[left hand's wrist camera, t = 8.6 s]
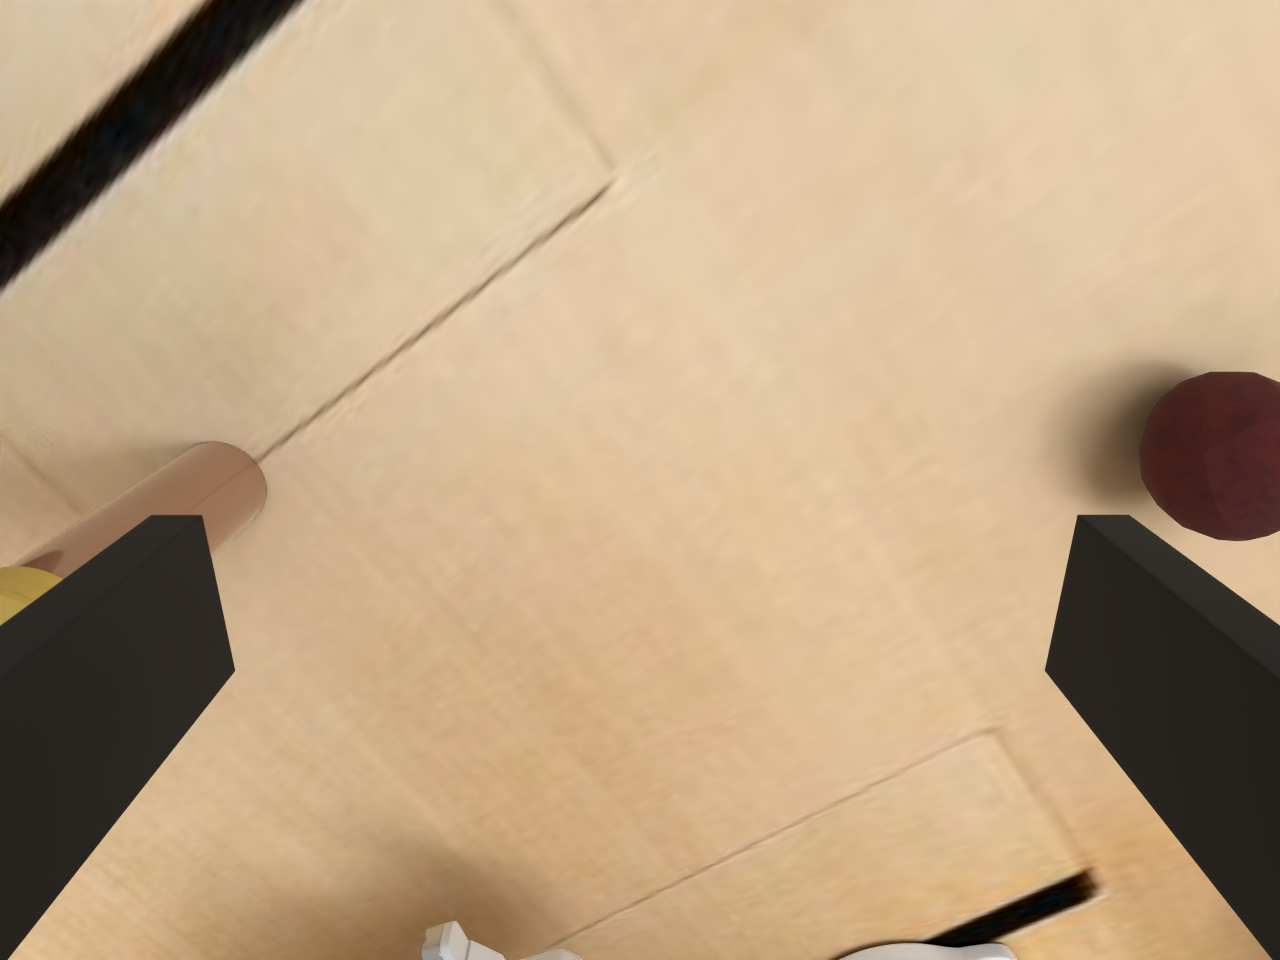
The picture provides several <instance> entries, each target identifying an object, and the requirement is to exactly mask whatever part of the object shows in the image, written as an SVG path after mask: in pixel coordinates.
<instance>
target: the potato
mask: <svg viewBox="0 0 1280 960" xmlns="http://www.w3.org/2000/svg"><path fill="white" fill-rule="evenodd" d="M1140 463H1141V477H1142V479H1143V481H1144V483H1145V486H1146V488H1147V489H1148V491H1149V492H1150V494H1151V495H1152V497H1153V499H1154V500H1155V502H1156V503H1157V505H1158V506H1159V507H1160V508H1162V509H1163V510H1164V511H1165V512H1166V513H1167V514H1168V515H1169V516H1170V517H1172V518H1173V519H1174V520H1175V521H1176V522H1178V523H1179V524H1180V525H1181V526H1182V527H1185V528H1188V529H1190V530H1193V531H1195V532H1198V533H1201V534H1204V535H1206V536H1209V537H1212V538H1215V539H1217V540H1229V541H1246V540H1252V539H1256V538H1261V537H1265V536H1269V535H1271V534H1273V533H1276V532H1278V531H1280V382H1277V381H1275V380H1272V379H1270V378H1267V377H1265V376H1262V375H1260V374H1257V373H1254V372H1208V373H1206V374H1203V375H1200V376H1197V377H1194V378H1191V379H1189V380H1186V381H1183V382H1181V383H1180V384H1178V385H1177V386H1176V387H1174V388H1173V389H1172V390H1171V391H1169V392H1168V393H1167V394H1166V395H1165V396H1163V397H1162V398H1161V400H1160V401H1159V403H1158V404H1157V406H1156V407H1155V409H1154V410H1153V412H1152V413H1151V415H1150V416H1149V419H1148V423H1147V426H1146V429H1145V433H1144V436H1143V440H1142V443H1141V447H1140Z"/></svg>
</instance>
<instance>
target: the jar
mask: <svg viewBox="0 0 1280 960" xmlns="http://www.w3.org/2000/svg"><path fill="white" fill-rule="evenodd" d="M266 495H267V487H266V482H265V478H264V476H263V473H262V471H261V470H260V468H259V466H258V465H257V464H256V462H255V461H254V460H253V459H252V458H251V457H250V456H248V455H247V454H246V453H245V452H243V451H242V450H240V449H238V448H236V447H234V446H231V445H229V444H225V443H219V442H207V443H201V444H198V445H196V446H193V447H192V448H190V449H188V450H187V451H185V452H184V453H182V454H181V455H179V456H178V457H176V458H175V459H173V460H171V461H170V462H168V463H167V464H165V465H164V466H162V467H161V468H159V469H158V470H156V471H154V472H153V473H151V474H150V475H148V476H147V477H145V478H144V479H142V480H141V481H139V482H138V483H136V484H134V485H133V486H131V487H130V488H128V489H127V490H125V491H124V492H122V493H121V494H119V495H117V496H116V497H114V498H113V499H111V500H110V501H108V502H107V503H105V504H104V505H102V506H101V507H99V508H97V509H96V510H94V511H93V512H91V513H90V514H88V515H87V516H85V517H84V518H82V519H80V520H79V521H77V522H76V523H74V524H73V525H71V526H70V527H68V528H67V529H65V530H64V531H62V532H60V533H59V534H57V535H56V536H54V537H53V538H51V539H50V540H48V541H47V542H45V543H43V544H42V545H40V546H39V547H37V548H36V549H34V550H33V551H31V552H30V553H28V554H27V555H25V556H23V557H22V558H20V559H19V560H17V561H16V562H14V563H13V564H11V565H10V566H8V567H12V566H16V567H29V568H35V569H39V570H43V571H46V572H49V573H52V574H54V575H56V576H58V577H60V578H62V579H64V578H66V577H67V576H69V575H70V574H71V573H73V572H74V571H75V570H77V569H78V568H79V567H81V566H82V565H84V564H85V563H86V562H88V561H89V560H90V559H92V558H93V557H94V556H96V555H97V554H99V553H100V552H101V551H103V550H104V549H105V548H107V547H108V546H109V545H111V544H112V543H114V542H115V541H116V540H118V539H119V538H120V537H122V536H123V535H124V534H126V533H127V532H129V531H130V530H131V529H133V528H134V527H135V526H137V525H138V524H139V523H141V522H142V521H144V520H145V519H146V518H148V517H149V516H150V515H202V516H203V520H204V525H205V530H206V535H207V539H208V544H209V549H210V554H211V558H212V557H213V556H214V555H215V554H216V553H217V552H218V551H219V550H220V549H221V548H222V547H223V546H225V545H226V544H227V543H228V542H229V541H230V540H231V539H232V538H233V537H234V536H235V535H236V534H237V533H238V532H240V531H241V530H242V529H243V528H244V527H245V526H246V525H247V524H248V523H249V522H250V521H251V520H252V519H253V518H254V517H256V516H257V514H258V513H259V512H260V511H261V509H262V508H263V506H264V504H265V500H266Z"/></svg>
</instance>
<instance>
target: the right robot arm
mask: <svg viewBox="0 0 1280 960" xmlns="http://www.w3.org/2000/svg"><path fill="white" fill-rule="evenodd" d="M425 937H426V940H425V942H424V943H423V944H422V949H421V955H422V960H505V958H504V956H503V955H502V954H500V953H498V952H496V951H494V950H492V949H489V948H487V947H485V946H483V945H481V944H479V943H477V942H474V941H472V940H468V938H467V937H466V935H465V934H464V932H463V930H462V929H461V927H460V925H459V924H458V922H457V921H455V920H454V921H451V922H448V923H444V924H441V925H438V926H435V927H431V928H428V929H427V930H426V933H425ZM519 960H583V958H582V957H580V956H579V955H577V954H574V953H572V952H570V951H568V950H565V949H554V950H550V951H547V952H544V953H540V954H537V955H533V956H530V957H526V958H523V959H519ZM839 960H1018V959H1017V958H1016V956H1015V955H1014V953H1013V952H1012V950H1011V949H1010V948H1009V947H1007V946H1005V945H1003V944H995V943H993V944H981V945H974V946H967V947H961V948H952V947H943V946H936V945H929V944H919V943H901V944H890V945H883V946H877V947H873V948H869V949H865V950H862V951H859V952H856V953H853V954H851V955H848V956H846V957H844V958H841V959H839Z"/></svg>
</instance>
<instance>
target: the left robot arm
mask: <svg viewBox="0 0 1280 960" xmlns="http://www.w3.org/2000/svg"><path fill="white" fill-rule="evenodd" d="M234 671H235V668H234V663H233V658H232V653H231V649H230V644H229V639H228V634H227V630H226V625H225V620H224V615H223V611H222V606H221V601H220V596H219V592H218V587H217V582H216V577H215V573H214V568H213V563H212V558H211V554H210V549H209V544H208V539H207V535H206V530H205V525H204V520H203V516H202V515H150V516H149V517H148V518H146V519H145V520H144V521H142V522H141V523H139V524H138V525H137V526H135V527H134V528H133V529H131V530H130V531H129V532H127V533H126V534H124V535H123V536H122V537H120V538H119V539H118V540H116V541H115V542H114V543H112V544H111V545H109V546H108V547H107V548H105V549H104V550H103V551H101V552H100V553H99V554H97V555H96V556H94V557H93V558H92V559H90V560H89V561H88V562H86V563H85V564H84V565H82V566H81V567H79V568H78V569H77V570H75V571H74V572H73V573H71V574H70V575H69V576H67V577H66V578H64V579H63V580H62V581H60V582H59V583H58V584H56V585H55V586H54V587H52V588H51V589H49V590H48V591H47V592H45V593H44V594H43V595H41V596H40V597H39V598H37V599H36V600H34V601H33V602H32V603H30V604H29V605H28V606H26V607H25V608H24V609H22V610H21V611H19V612H18V613H17V614H15V615H14V616H13V617H11V618H10V619H9V620H7V621H6V622H4V623H3V624H2V625H0V960H8V958H9V957H10V956H11V955H12V953H13V952H14V951H15V950H16V948H17V947H18V946H19V944H20V943H21V942H22V941H23V939H24V938H25V937H26V936H27V934H28V933H29V932H30V931H31V929H32V928H33V927H34V925H35V924H36V923H37V922H38V920H39V919H40V918H41V917H42V915H43V914H44V913H45V911H46V910H47V909H48V908H49V906H50V905H51V904H52V903H53V901H54V900H55V899H56V897H57V896H58V895H59V894H60V892H61V891H62V890H63V889H64V887H65V886H66V885H67V884H68V882H69V881H70V880H71V878H72V877H73V876H74V875H75V873H76V872H77V871H78V870H79V868H80V867H81V866H82V864H83V863H84V862H85V861H86V859H87V858H88V857H89V856H90V854H91V853H92V852H93V851H94V849H95V848H96V847H97V845H98V844H99V843H100V842H101V840H102V839H103V838H104V837H105V835H106V834H107V833H108V831H109V830H110V829H111V828H112V826H113V825H114V824H115V823H116V821H117V820H118V819H119V817H120V816H121V815H122V814H123V812H124V811H125V810H126V809H127V807H128V806H129V805H130V804H131V802H132V801H133V800H134V798H135V797H136V796H137V795H138V793H139V792H140V791H141V790H142V788H143V787H144V786H145V784H146V783H147V782H148V781H149V779H150V778H151V777H152V776H153V774H154V773H155V772H156V771H157V769H158V768H159V767H160V765H161V764H162V763H163V762H164V760H165V759H166V758H167V757H168V755H169V754H170V753H171V751H172V750H173V749H174V748H175V746H176V745H177V744H178V743H179V741H180V740H181V739H182V737H183V736H184V735H185V734H186V732H187V731H188V730H189V729H190V727H191V726H192V725H193V724H194V722H195V721H196V720H197V718H198V717H199V716H200V715H201V713H202V712H203V711H204V710H205V708H206V707H207V706H208V704H209V703H210V702H211V701H212V699H213V698H214V697H215V696H216V694H217V693H218V692H219V691H220V689H221V688H222V687H223V685H224V684H225V683H226V682H227V680H228V679H229V678H230V677H231V675H232V674H233V673H234ZM1045 671H1046V673H1047V674H1048V675H1049V677H1050V678H1051V679H1052V680H1053V682H1054V683H1055V684H1056V685H1057V687H1058V688H1059V689H1060V691H1061V692H1062V693H1063V694H1064V696H1065V697H1066V698H1067V699H1068V701H1069V702H1070V703H1071V704H1072V706H1073V707H1074V708H1075V710H1076V711H1077V712H1078V713H1079V715H1080V716H1081V717H1082V718H1083V720H1084V721H1085V722H1086V724H1087V725H1088V726H1089V727H1090V729H1091V730H1092V731H1093V732H1094V734H1095V735H1096V736H1097V737H1098V739H1099V740H1100V741H1101V743H1102V744H1103V745H1104V746H1105V748H1106V749H1107V750H1108V751H1109V753H1110V754H1111V755H1112V757H1113V758H1114V759H1115V760H1116V762H1117V763H1118V764H1119V765H1120V767H1121V768H1122V769H1123V771H1124V772H1125V773H1126V774H1127V776H1128V777H1129V778H1130V779H1131V781H1132V782H1133V783H1134V784H1135V786H1136V787H1137V788H1138V790H1139V791H1140V792H1141V793H1142V795H1143V796H1144V797H1145V798H1146V800H1147V801H1148V802H1149V804H1150V805H1151V806H1152V807H1153V809H1154V810H1155V811H1156V812H1157V814H1158V815H1159V816H1160V817H1161V819H1162V820H1163V821H1164V823H1165V824H1166V825H1167V826H1168V828H1169V829H1170V830H1171V831H1172V833H1173V834H1174V835H1175V837H1176V838H1177V839H1178V840H1179V842H1180V843H1181V844H1182V845H1183V847H1184V848H1185V849H1186V851H1187V852H1188V853H1189V854H1190V856H1191V857H1192V858H1193V859H1194V861H1195V862H1196V863H1197V864H1198V866H1199V867H1200V868H1201V870H1202V871H1203V872H1204V873H1205V875H1206V876H1207V877H1208V878H1209V880H1210V881H1211V882H1212V884H1213V885H1214V886H1215V887H1216V889H1217V890H1218V891H1219V892H1220V894H1221V895H1222V896H1223V898H1224V899H1225V900H1226V901H1227V903H1228V904H1229V905H1230V906H1231V908H1232V909H1233V910H1234V911H1235V913H1236V914H1237V915H1238V917H1239V918H1240V919H1241V920H1242V922H1243V923H1244V924H1245V925H1246V927H1247V928H1248V929H1249V931H1250V932H1251V933H1252V934H1253V936H1254V937H1255V938H1256V939H1257V941H1258V942H1259V943H1260V944H1261V946H1262V947H1263V948H1264V950H1265V951H1266V952H1267V953H1268V955H1269V956H1270V957H1271V958H1272V960H1280V625H1278V624H1277V623H1276V622H1274V621H1273V620H1271V619H1270V618H1269V617H1267V616H1266V615H1265V614H1263V613H1262V612H1261V611H1259V610H1258V609H1256V608H1255V607H1254V606H1252V605H1251V604H1250V603H1248V602H1247V601H1246V600H1244V599H1243V598H1241V597H1240V596H1239V595H1237V594H1236V593H1235V592H1233V591H1232V590H1231V589H1229V588H1228V587H1226V586H1225V585H1224V584H1222V583H1221V582H1220V581H1218V580H1217V579H1216V578H1214V577H1213V576H1211V575H1210V574H1209V573H1207V572H1206V571H1205V570H1203V569H1202V568H1201V567H1199V566H1198V565H1196V564H1195V563H1194V562H1192V561H1191V560H1190V559H1188V558H1187V557H1186V556H1184V555H1183V554H1181V553H1180V552H1179V551H1177V550H1176V549H1175V548H1173V547H1172V546H1171V545H1169V544H1168V543H1166V542H1165V541H1164V540H1162V539H1161V538H1160V537H1158V536H1157V535H1156V534H1154V533H1153V532H1151V531H1150V530H1149V529H1147V528H1146V527H1145V526H1143V525H1142V524H1141V523H1139V522H1138V521H1136V520H1135V519H1134V518H1132V517H1131V516H1130V515H1078V516H1077V520H1076V525H1075V530H1074V535H1073V539H1072V544H1071V549H1070V554H1069V558H1068V563H1067V568H1066V573H1065V577H1064V582H1063V587H1062V592H1061V596H1060V601H1059V606H1058V611H1057V615H1056V620H1055V625H1054V630H1053V634H1052V639H1051V644H1050V649H1049V653H1048V658H1047V663H1046V667H1045Z"/></svg>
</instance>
